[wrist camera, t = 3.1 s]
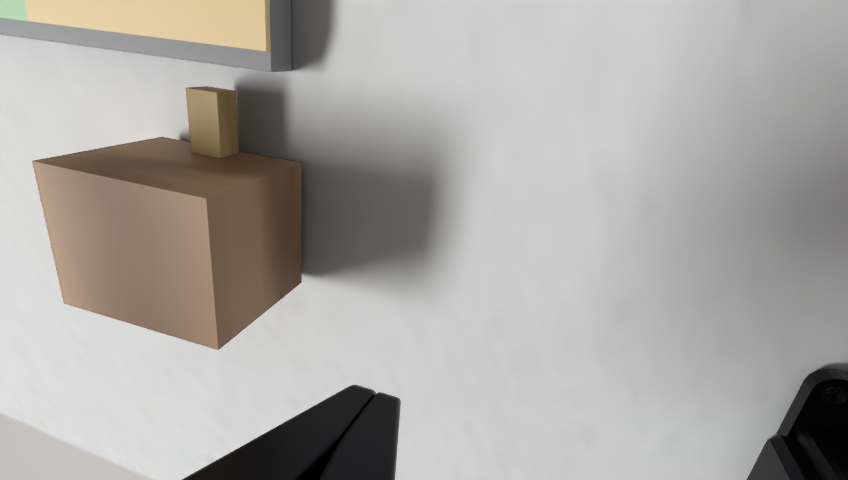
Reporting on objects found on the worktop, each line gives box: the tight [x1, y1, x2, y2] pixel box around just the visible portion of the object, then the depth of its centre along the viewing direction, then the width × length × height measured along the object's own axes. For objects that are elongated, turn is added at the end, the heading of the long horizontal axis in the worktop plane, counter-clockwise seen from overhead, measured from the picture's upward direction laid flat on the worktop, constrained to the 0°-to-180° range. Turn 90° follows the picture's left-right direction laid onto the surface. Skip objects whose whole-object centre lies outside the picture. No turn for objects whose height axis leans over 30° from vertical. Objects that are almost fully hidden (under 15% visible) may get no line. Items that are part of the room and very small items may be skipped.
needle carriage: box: [32, 86, 302, 350], centre depth 13 cm, size 5×6×4 cm
